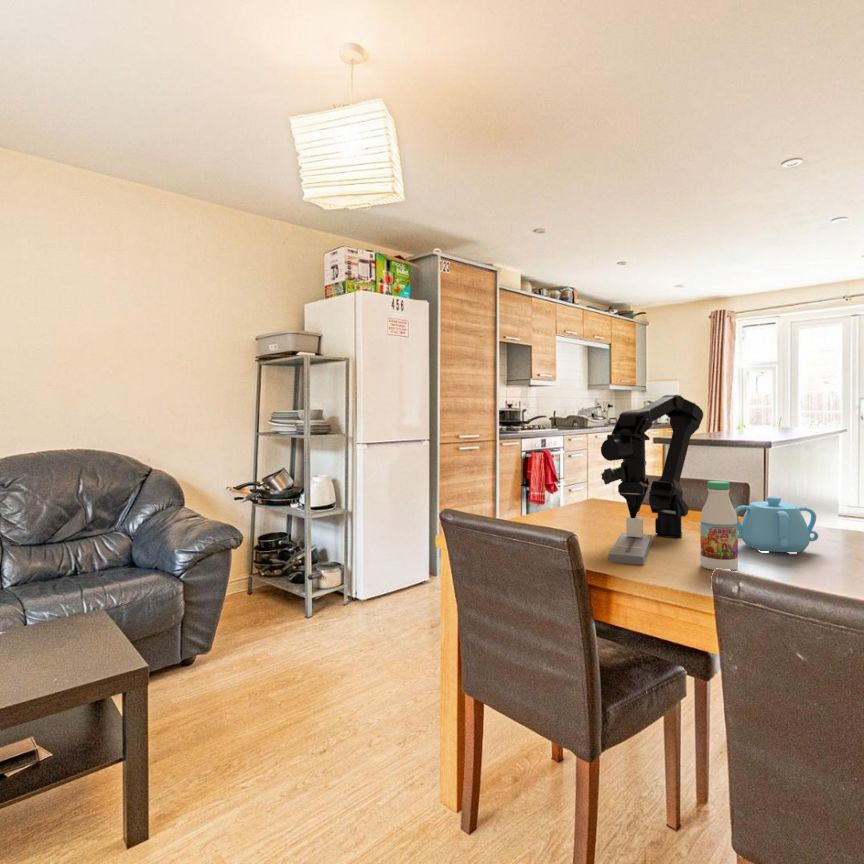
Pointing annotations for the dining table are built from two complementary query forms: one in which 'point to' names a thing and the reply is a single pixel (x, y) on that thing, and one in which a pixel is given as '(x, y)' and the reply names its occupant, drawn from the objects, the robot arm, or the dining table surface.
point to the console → (630, 549)
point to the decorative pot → (776, 526)
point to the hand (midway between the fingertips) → (634, 514)
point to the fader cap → (634, 527)
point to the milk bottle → (718, 529)
